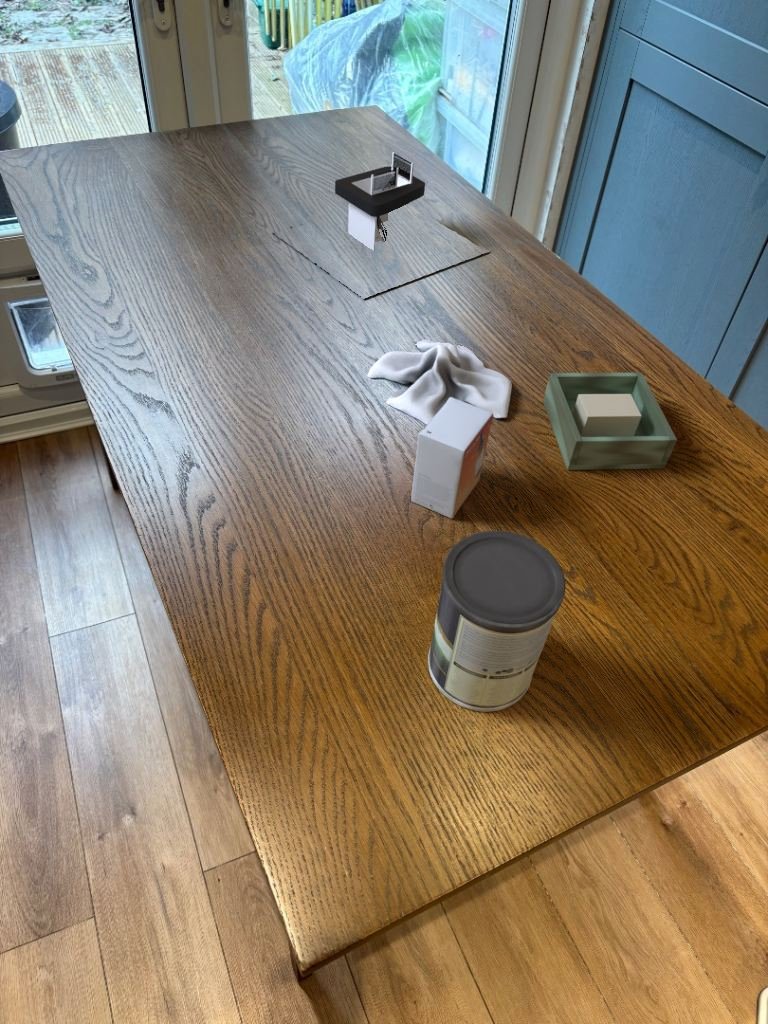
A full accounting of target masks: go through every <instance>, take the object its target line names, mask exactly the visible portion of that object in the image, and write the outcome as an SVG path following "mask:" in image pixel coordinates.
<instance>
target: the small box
mask: <svg viewBox="0 0 768 1024" xmlns="http://www.w3.org/2000/svg"><path fill="white" fill-rule="evenodd" d="M493 418H494V417H493V413H491V412H488V411H486V410H483V409H481V408H478V407H475V406H473V405H470V404H468V403H465V402H463V401H460V400H457V399H455V398H452V397H450V398H449V399H448V400H447V402H446V403H445V404H444V405H443V407H442V408H441V409H440V410H439V412H438V413H437V414H436V415H435V416H434V417H433V419H432V420H431V421H430V422H429V423H428V424H427V425H426V424H425V426H424V428H423V429H421V430H420V432H418V435H417V443H416V453H415V460H414V469H413V477H412V487H411V497H410V501H411V502H412V503H414V504H416V505H418V506H420V507H423V508H425V509H428V510H430V511H433V512H435V513H437V514H439V515H442V516H444V517H446V518H449V519H451V520H452V519H454V518H455V516H456V515H457V513H458V511H459V510H460V508H461V507H462V505H463V504H464V503H465V501H466V500H467V498H468V497H469V496H470V494H471V493H472V492H473V490H474V489H475V487H476V486H477V484H479V482H480V479H481V474H482V469H483V466H484V460H485V456H486V451H487V446H488V442H489V437H490V432H491V428H492V427H491V426H492V422H493Z"/></svg>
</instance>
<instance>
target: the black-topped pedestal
mask: <svg viewBox="0 0 768 1024" xmlns="http://www.w3.org/2000/svg"><path fill="white" fill-rule="evenodd" d="M414 166H415V164H414V163H413V162H410V161H409V160H407V159H405V158H404V157H403V156H399V155H398V154H396V153H395V151H392V156H391V166H382V167H379V168H375V169H372V170H368V171H364V172H360V173H357V174H353V175H349V176H346V177H343V178H339V179H336V180H334V193H335V195H337V197H340V198H341V199H343V200H345V201H346V202H348V209H347V210H348V233H349V234H350V235H352V236H353V237H354V238H355V239H357V240H358V241H360V242H361V243H363V244H364V245H365V246H367V247H368V248H370V249H372V250H373V251H375V242H379V241H382V242H385V241H386V237H385V234H384V230H385V229H386V228H385V227H384V228H385V229H384V230H383V227H382V225H383V222H385V221H388V213H389V212H391V211H393V210H395V209H398V208H400V207H402V206H404V205H406V204H410V203H412V202H414V201H416V200H418V199H420V198H423V196H424V195H425V190H426V182H425V181H423V180H422V179H420V178H418V177H417V176H415V175H414ZM381 223H382V225H381ZM383 226H384V225H383ZM379 229H381V230H382V232H383V235H384V238H385V241H384V239H383V237H381V235H380V232H379ZM386 231H387V230H385V233H386V236H387V232H386Z"/></svg>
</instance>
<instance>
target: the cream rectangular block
mask: <svg viewBox="0 0 768 1024" xmlns="http://www.w3.org/2000/svg"><path fill="white" fill-rule="evenodd" d="M572 416H573V418H574V421H575V423H576V426H577V428H578V431H579V433H580V436H581V437H628V436H634V434H635V432H636V429H637V427H638V424H639V421H640V419H641V414H640V412H639V410H638V408H637V406H636V403H635V401H634V399H633V397H632V395H631V394H578V398H577V401H576V404H575V407H574V411H573V414H572Z"/></svg>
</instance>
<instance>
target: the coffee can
mask: <svg viewBox="0 0 768 1024" xmlns="http://www.w3.org/2000/svg"><path fill="white" fill-rule="evenodd" d="M441 576H442V580H441V585H440V590H439V591H440V592H439V596H438V597H439V598H438V603H437V610H436V614H435V620H434V626H433V632H432V637H431V643H430V647H429V650H428V653H427V667H428V671H429V674H430V678H431V679H432V682H433V683H434V685H435V686H436V688H437V689H438V690H439V692H440V693H441V694H442V695H443V696H444V697H445V698H446V699H448V701H451V702H452V703H454V705H455V704H456V705H457V706H460V707H462V708H465V709H467V710H471V711H475V712H482V713H487V712H497V711H501V710H505V709H507V708H509V707H511V706H513V705H515V704H516V703H517V702H519V701H520V700H521V699H522V698H523V697H524V696H525V694H526V693H527V692H528V690H529V688H530V686H531V683H532V680H533V679H532V678H533V675H534V673H535V669H536V667H537V664H538V661H539V659H540V656H541V653H542V652H543V649H544V646H545V645H546V644H545V643H546V641H547V638H548V635H549V633H550V630H551V628H552V625H553V622H554V619H555V618H556V614H557V612H558V611H559V609H560V607H561V605H562V603H563V601H564V599H565V596H566V578H565V574H564V572H563V569H562V567H561V565H560V563H559V561H558V560H557V559H556V558H555V556H554V555H553V554H552V553H551V552H550V551H549V550H548V548H546V547H544V546H543V545H541V544H540V543H539V542H537V541H536V540H535V539H532V538H530V537H527V536H526V535H524V534H520V533H517V532H512V531H506V530H483V531H479V532H474V533H471V534H470V535H467V536H464V538H462V539H460V540H459V541H457V542H456V543H455V544H454V545H453V546H452V547H451V548H450V550H449V551H448V553H447V554H446V556H445V558H444V563H443V565H442V575H441Z"/></svg>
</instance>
